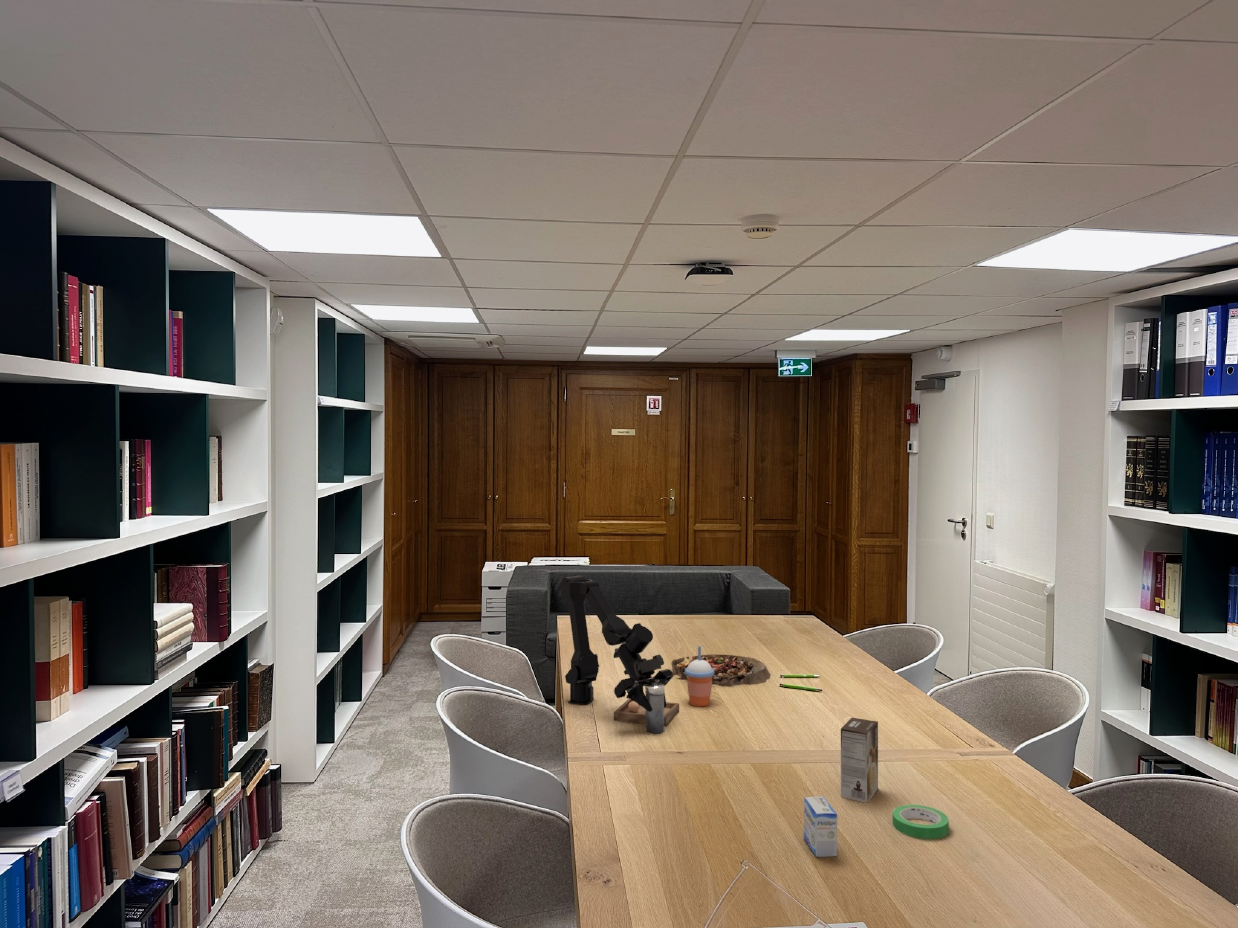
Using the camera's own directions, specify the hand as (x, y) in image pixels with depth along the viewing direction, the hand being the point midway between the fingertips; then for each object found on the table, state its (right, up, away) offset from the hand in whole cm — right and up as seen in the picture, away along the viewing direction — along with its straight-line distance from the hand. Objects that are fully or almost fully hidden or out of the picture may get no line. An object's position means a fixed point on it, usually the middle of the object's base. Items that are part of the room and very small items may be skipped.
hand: (658, 708), depth 228 cm
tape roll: (+53, -8, -57) cm, 78 cm away
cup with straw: (+14, -6, +26) cm, 30 cm away
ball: (-7, -4, +15) cm, 16 cm away
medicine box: (+29, -8, -66) cm, 73 cm away
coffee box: (+45, -7, -41) cm, 61 cm away
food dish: (+25, -6, +59) cm, 64 cm away
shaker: (-1, -7, +1) cm, 7 cm away
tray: (-3, -6, +14) cm, 16 cm away
